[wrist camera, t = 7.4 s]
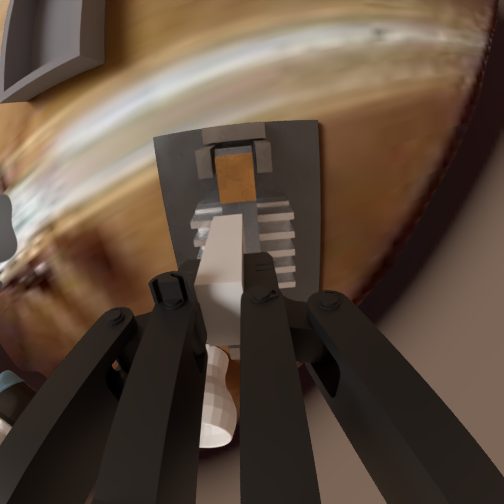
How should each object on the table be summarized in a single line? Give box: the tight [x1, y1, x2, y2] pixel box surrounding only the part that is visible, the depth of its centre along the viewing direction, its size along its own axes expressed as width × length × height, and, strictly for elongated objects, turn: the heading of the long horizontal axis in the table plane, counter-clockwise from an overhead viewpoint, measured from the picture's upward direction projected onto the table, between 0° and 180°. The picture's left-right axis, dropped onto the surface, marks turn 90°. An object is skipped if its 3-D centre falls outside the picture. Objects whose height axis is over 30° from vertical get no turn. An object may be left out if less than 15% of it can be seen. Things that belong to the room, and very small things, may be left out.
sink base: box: [153, 120, 321, 360], centre depth 29 cm, size 26×18×9 cm
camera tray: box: [0, 0, 106, 104], centre depth 16 cm, size 14×21×6 cm
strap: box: [215, 146, 261, 254], centre depth 27 cm, size 23×3×2 cm, turn 5°
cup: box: [199, 344, 236, 448], centre depth 37 cm, size 11×11×15 cm
